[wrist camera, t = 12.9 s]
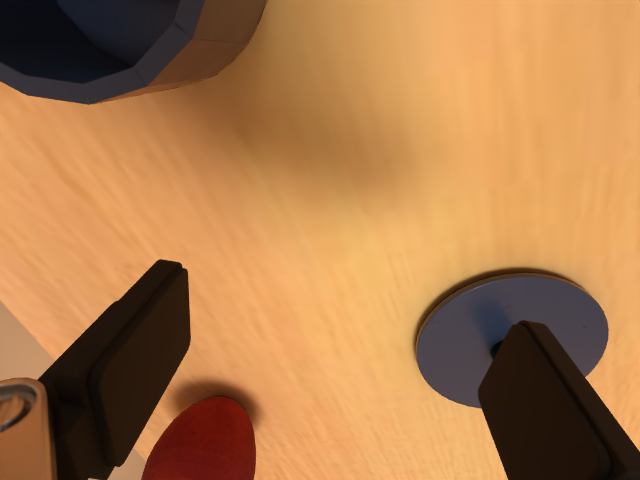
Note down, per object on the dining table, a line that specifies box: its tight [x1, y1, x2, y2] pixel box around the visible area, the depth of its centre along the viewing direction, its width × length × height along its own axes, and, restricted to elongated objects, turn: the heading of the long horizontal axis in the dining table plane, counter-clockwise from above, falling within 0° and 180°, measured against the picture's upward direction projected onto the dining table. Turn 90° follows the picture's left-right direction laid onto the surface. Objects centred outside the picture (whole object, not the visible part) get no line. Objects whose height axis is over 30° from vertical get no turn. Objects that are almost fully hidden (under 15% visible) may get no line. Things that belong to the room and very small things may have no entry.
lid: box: [416, 273, 608, 408], centre depth 26 cm, size 15×15×6 cm
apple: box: [141, 396, 256, 480], centre depth 32 cm, size 10×10×10 cm
